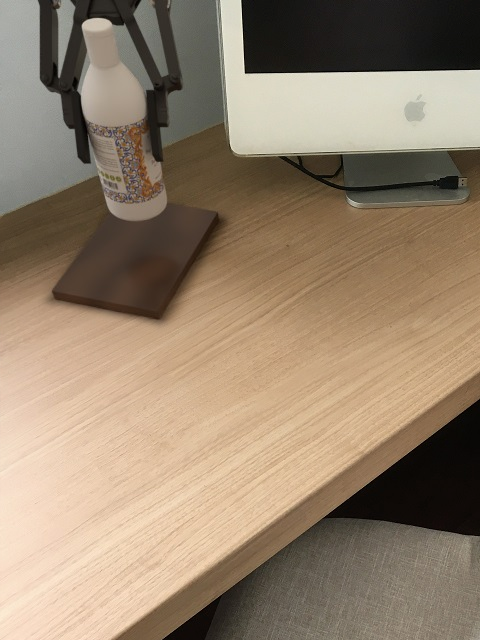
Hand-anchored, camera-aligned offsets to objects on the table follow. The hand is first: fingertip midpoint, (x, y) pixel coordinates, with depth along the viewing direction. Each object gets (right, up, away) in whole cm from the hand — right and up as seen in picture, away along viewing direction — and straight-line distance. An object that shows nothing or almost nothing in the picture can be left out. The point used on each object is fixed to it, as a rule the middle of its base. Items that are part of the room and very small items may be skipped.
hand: (121, 159), depth 84 cm
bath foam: (-1, -2, +9) cm, 9 cm away
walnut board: (-1, -7, +12) cm, 14 cm away
